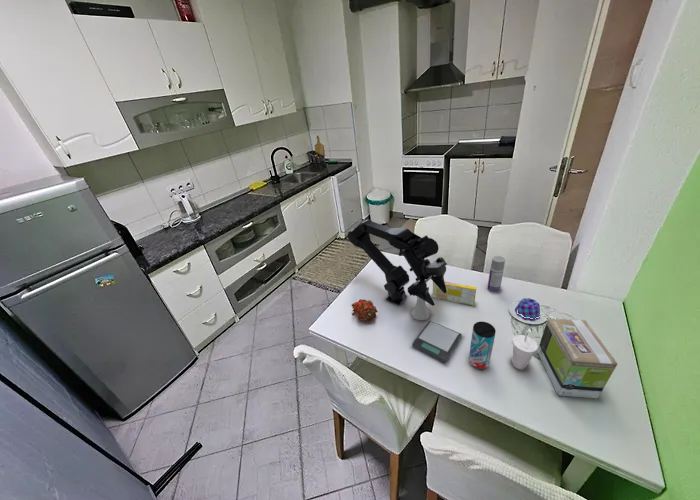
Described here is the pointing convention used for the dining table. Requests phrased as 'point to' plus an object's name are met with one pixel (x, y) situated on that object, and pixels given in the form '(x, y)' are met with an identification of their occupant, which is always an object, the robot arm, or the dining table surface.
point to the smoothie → (523, 350)
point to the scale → (437, 341)
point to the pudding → (527, 311)
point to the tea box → (575, 358)
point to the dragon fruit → (364, 310)
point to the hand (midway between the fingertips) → (440, 298)
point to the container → (496, 274)
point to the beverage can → (481, 345)
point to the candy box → (456, 293)
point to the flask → (420, 310)
